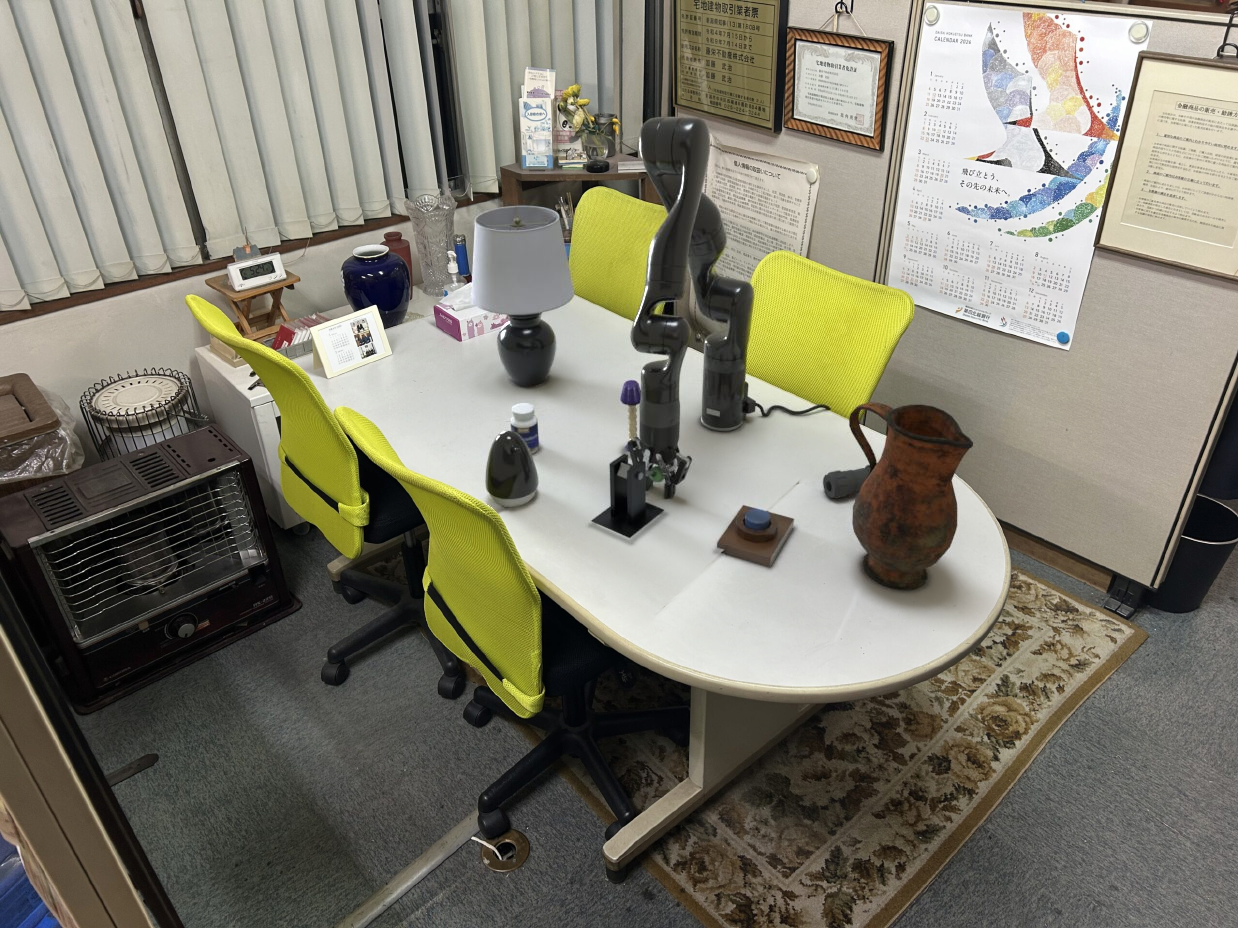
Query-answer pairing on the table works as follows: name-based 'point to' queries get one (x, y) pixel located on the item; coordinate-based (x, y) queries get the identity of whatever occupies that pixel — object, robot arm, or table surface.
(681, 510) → the table surface
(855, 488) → the flashlight
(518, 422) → the pill bottle
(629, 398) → the toy lamp
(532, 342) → the lamp
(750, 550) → the button block
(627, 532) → the switch bracket
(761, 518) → the light button
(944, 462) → the pitcher
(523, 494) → the black egg-shaped dome
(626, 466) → the switch lever
